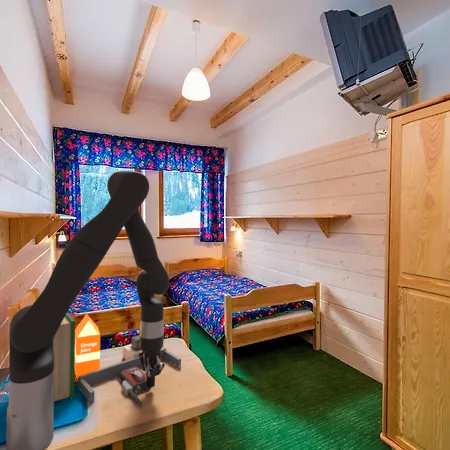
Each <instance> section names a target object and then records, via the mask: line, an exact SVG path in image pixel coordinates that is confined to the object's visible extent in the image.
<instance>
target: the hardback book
mask: <svg viewBox="0 0 450 450" xmlns="http://www.w3.org/2000/svg"><path fill="white" fill-rule="evenodd" d="M75 329H76V320H75V319H74V317H73V316H72V315H71V314H70V313H69V312H67V313H66V315H65V317H64V319H63V321H62V323H61V325H60V327H59V329H58V331H57V333H56V334H55V336H54V338H53V350H54V402H56V401H57V402H58V401H61V400H63V399H66V398H69V397H70V398H69V400H70V399H71V398H74V397H75V395H74V394H75V392H74V391H75ZM71 400H72V399H71Z"/></svg>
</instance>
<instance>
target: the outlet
mask: <svg viewBox="0 0 450 450" xmlns="http://www.w3.org/2000/svg"><path fill="white" fill-rule="evenodd" d="M131 347H132V343H130V344H126V345H124V346H122V359H123V360H124V361H126V360H129V359H132V358H135V357H138V356H139V353H140V352H142V350H139V351H134V350H133V349H132V348H131Z"/></svg>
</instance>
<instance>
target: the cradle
mask: <svg viewBox="0 0 450 450" xmlns="http://www.w3.org/2000/svg"><path fill="white" fill-rule="evenodd" d="M160 355H161V358H160V360H163V359H164V360H165V361H167V360H168V361H167V362H168V363H170V362H171V363H170V364H172V363H173V364H175V365H176V366H178V367H179V366H181V367H182V358H180V356H177V355H176V354H174V353H173V352H170V351H169V350H167V348H166V347H163V348H162V349H161V350H160ZM173 364H172V365H173ZM175 365H174V366H175ZM176 366H175V367H176ZM131 367H138V368H142V365H141V362H140V358H139V356H138V357H135V358H132V359H129V360H123V361H120V362H117V363H114V364H111V365H108V366H105V367H102V368H100V369H99V370H96V371H93V372H89V373H86V374H83V375H80V376H78V380H77V388H78V387H79V388H80V389H81V390H82V392H83V393H84V394H85V396H86V397H85V396H84V397H85V398H86V399H87V401H88V402H89V403H91V404H92V403H94V402H95V390H94V389H93V388H92V387H91V386H90V385H92V384H95V383H98V382H101V381H105V380H106V379H110V378H112V377H115V376H118V374H120V373H121V371H122V370H125V369H128V368H131ZM178 367H177V368H178ZM179 368H180V367H179ZM79 388H78V389H79ZM80 389H79V390H80ZM82 392H81V393H82ZM83 393H82V394H83ZM84 394H83V395H84Z"/></svg>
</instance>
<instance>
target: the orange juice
mask: <svg viewBox="0 0 450 450" xmlns="http://www.w3.org/2000/svg"><path fill="white" fill-rule="evenodd" d="M100 359H101V333H100V330H99V327H98V325H97V324H96V323H95V322H94V321H93V319H92V318H91V317H90V316H89V315H88V313H86V314H85V315H84V317H83V318H82V319H81V321H80V323H78V325H77V326H76V327H75V354H74V376H75V375H76V378H78V376H80V375H83V374H86V373H89V372H93V371H96V370H99V369H101V368H100V367H101V365H100V362H101V360H100ZM76 378H75V379H76Z"/></svg>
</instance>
